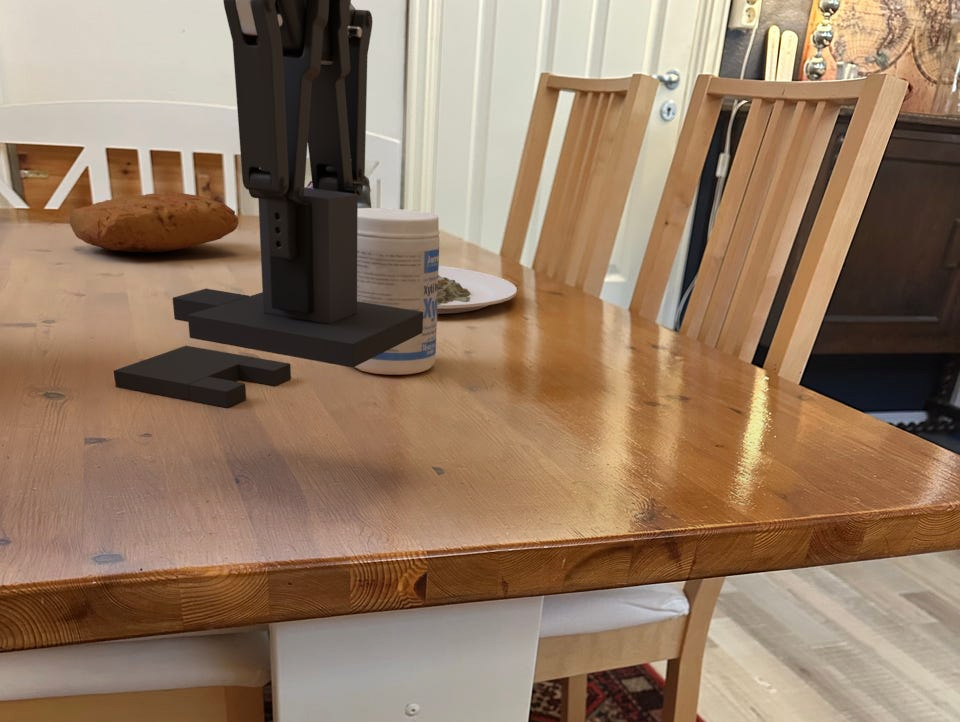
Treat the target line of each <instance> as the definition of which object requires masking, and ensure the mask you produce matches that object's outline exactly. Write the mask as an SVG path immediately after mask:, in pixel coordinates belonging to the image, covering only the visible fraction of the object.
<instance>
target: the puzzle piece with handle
mask: <svg viewBox="0 0 960 722" xmlns="http://www.w3.org/2000/svg"><path fill="white" fill-rule="evenodd" d="M306 187H307V186H305V187H304V197H303V200H302V202H303V203H310V204H312V236H313V291H314V312H313V313H310V314H305V313H299V312H293V311H287V310H281V309H275V308H272V298H271V273H270V251H269V238H268V232H269V231H268V213H267V203H266V200H265V199H259V198H257V199H258V221H259V222H258V223H259V224H258V225H259V241H260V263H261V264H260V265H261V286H262V287H261V289H262V291H261V292H259V293H256V294H252V295H249V294H242V293H235V292H230V291H224V290H219V289H212V288H202V289H200V290H196V291H191V292H188V293H185V294H181V295H176V296H173V297H172V307H173V318H174V320H175V321H181V322H186V323H188V334H189V338H190V339H194V340H200V341H204V342H210V343H216V344H221V345H226V346H231V347H236V348H237V347H238V348H243V349H248V350H252V351H253V350H254V351H259V352H265V353H271V354H276V355H281V356H287V357H292V358H297V359H303V360H310V361H314V362H318V363H319V362H320V363H324V364H325V363H326V364H331V365H336V366H340V367H341V366H342V367H346V368H347V367H348V368H351V369H353V368H355V366H357V365H359V364H361V363H363V362H365V361H367V360H369V359H371V358H373V357H375V356H377V355H379V354H381V353H383V352H385V351H387V350H389V349H391V348H393V347H395V346H397V345H399V344H401V343H403V342H405V341H407V340H409V339H411V338H413V337H415V336H417V335H419V334H421V333H422V331H423V312H421V311H415V310H409V309H402V308H396V307H390V306H384V305H378V304H371V303H365V302H359V301H357V212H358V195H357V194H353V193H345V192H337V191H329V190H322V189H314V188H306Z"/></svg>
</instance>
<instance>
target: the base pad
mask: <svg viewBox="0 0 960 722" xmlns="http://www.w3.org/2000/svg"><path fill="white" fill-rule="evenodd" d="M291 369H292V368H291V363H289V362H284V361H277V360H272V359H266V358H260V357H254V356H249V355H243V354H238V353H230V352H226V351H219V350H214V349H208V348H202V347H197V346H191V345H183V346H181V347H178V348H175V349H172V350H169V351H166V352H163V353H160V354H158V355H154V356H151V357H148V358H146V359H143V360H140V361H137V362H134V363H131V364H128V365H125V366H123V367H120V368H116V369H114V370H113V376H114V384H115V387H116V388H121V389H127V390H131V391H136V392H137V391H138V392H143V393H148V394H154V395H158V396H163V397H167V398H168V397H169V398H174V399H179V400H185V401H191V402H196V403H201V404H206V405H212V406H217V407H223V408H227V409H228V408H231V407H232V406H235V405H237V404H240V403H241V402H243V401H246V400H247V391H246V390H247V389H246V388H247V387H246V383H245V382H240V381H238V380H241V381H246V382H250V383H251V382H252V383H256V384H263V385H268V386H273V387H275V386H278V385H280V384H282V383H284V382H287V381H289V380H291V379H292V373H291V371H292V370H291Z"/></svg>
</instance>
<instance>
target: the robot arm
mask: <svg viewBox="0 0 960 722" xmlns="http://www.w3.org/2000/svg"><path fill="white" fill-rule="evenodd" d="M222 3H223V7H224V12H225V14H226V21H227V25H228V28H229V32H230V36H231V41H232V53H233V67H234V79H235V82H234V83H235V96H236V108H237V109H236V110H237V122H238V123H237V125H238V136H239V151H240V152H239V153H240V165H241V179H242V184H243V187H244V188H245V189H246V190H248V193H249V195H250V197H251V198H253V199H258V198H259V199H265V200H266V203H267V213H268V231H269V232H268V238H269V251H270V273H271V298H272V308H275V309H281V310H287V311H293V312H299V313H305V314H310V313H313V312H314V291H313V236H312V204H310V203H303V202H302V200H303V197H304V187H306V173H307V157H309V167H310V176H311V181H312V185H313V188H314V189H322V190H329V191H337V192H345V193H353V194H357V195H358V197H360V196H361V194H362V191H363V184H357V183H361V182H363V180H364V176H366V141H367V139H366V138H367V137H366V136H367V134H366V133H367V98H368V97H367V95H368V94H367V92H368V54H369V48H370V42H371V37H372V30H373V15H372V13H371V11H370V10H369V9H368V10H367V9H357V8H355V6H354V5H353V4H352V0H223V1H222ZM354 182H357V183H354Z"/></svg>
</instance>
